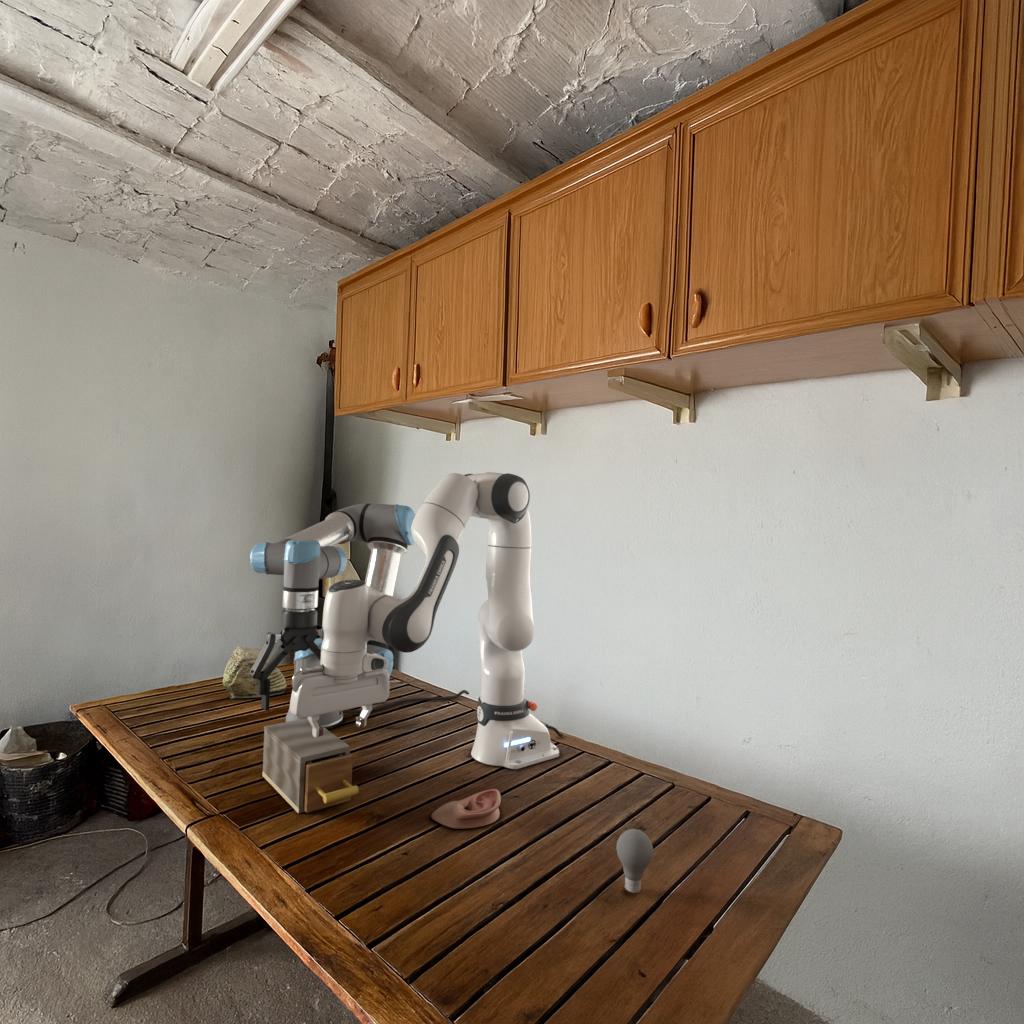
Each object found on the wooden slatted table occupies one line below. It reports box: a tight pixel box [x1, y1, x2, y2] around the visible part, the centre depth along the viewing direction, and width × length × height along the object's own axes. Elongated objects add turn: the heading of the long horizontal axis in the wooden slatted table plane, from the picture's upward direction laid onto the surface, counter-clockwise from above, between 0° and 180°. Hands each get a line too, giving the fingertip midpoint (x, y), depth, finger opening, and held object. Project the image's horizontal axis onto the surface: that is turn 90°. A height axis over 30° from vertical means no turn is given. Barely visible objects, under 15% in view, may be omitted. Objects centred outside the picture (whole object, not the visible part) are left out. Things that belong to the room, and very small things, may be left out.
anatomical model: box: [430, 788, 502, 830], centre depth 128 cm, size 13×4×12 cm
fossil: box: [222, 646, 288, 699], centre depth 198 cm, size 9×18×15 cm, turn 132°
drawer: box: [304, 753, 360, 814], centre depth 133 cm, size 25×9×9 cm, turn 40°
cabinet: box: [261, 718, 351, 814], centre depth 138 cm, size 21×11×11 cm, turn 40°
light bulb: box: [615, 828, 654, 894], centre depth 106 cm, size 6×6×10 cm
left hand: (296, 703), depth 142 cm, fingers open, 13 cm apart
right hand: (339, 730), depth 127 cm, fingers open, 8 cm apart
